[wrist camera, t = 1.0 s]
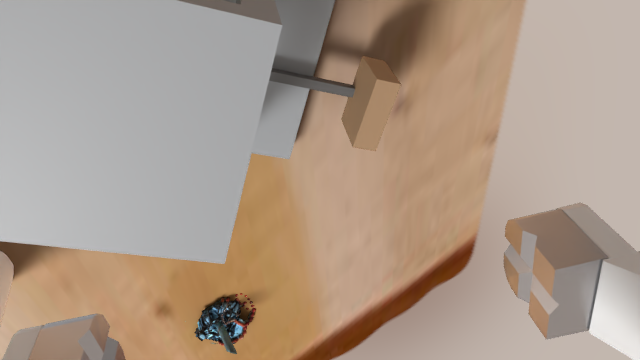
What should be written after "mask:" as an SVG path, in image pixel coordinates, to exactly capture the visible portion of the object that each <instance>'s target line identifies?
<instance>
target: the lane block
mask: <svg viewBox="0 0 640 360" xmlns="http://www.w3.org/2000/svg"><path fill="white" fill-rule="evenodd" d="M269 81H273V82H278V83H283V84H288V85H293V86H298V87H303V88H308V89H313V90H317V91H322V92H327V93H332V94H337V95H342V96H347V97H349V98H348V101H347V104H346V107H345V110H344V113H343V116H342V119H341V120H342V122H343V125H344V127H345V129H346V132H347V134H348V137H349V139H350V142H351V144H352V146H353V147H354V148H360V149H366V150H371V151H376V149H377V146H378V144H379V141H380V138H381V136H382V133H383V131H384V128H385V125H386V123H387V120H388V118H389V115H390V112H391V110H392V107H393V104H394V102H395V99H396V97H397V94H398V91H399V89H400V86H401V83H400V82H399V81H398V79H397V78H396V76H395V75H394V74H393V72H392V71H391V69H390V68H389V67H388V65H387V64H386V62H385V61H383V60H379V59H375V58H370V57H366V56H362V58H361V61H360V64H359V67H358V70H357V73H356V76H355V80H354V83H353V85H350V84H345V83H340V82H336V81H331V80H326V79H321V78H317V77H312V76H307V75H302V74H298V73H293V72H288V71H284V70H279V69H274V68H272V70H271V74H270V78H269Z"/></svg>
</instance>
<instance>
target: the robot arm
mask: <svg viewBox="0 0 640 360" xmlns="http://www.w3.org/2000/svg"><path fill="white" fill-rule="evenodd" d="M505 237H506V238H507V239H508V241H509V242H510V243H511V244H510V246H509V247H508V249H507V250H506V251H505V252H504V268H505V273H506V277H507V280H508V282H509V284H510V286H511V288H512V290H513V291H514V293H515V295H516V296H517V297H518V298H520V299H522V300H524V301H526V302H528V303H529V315H530V317H531V318H532V320H533V321H534V322H535V324H536V325H537V327H538V328H539V330H540V331H541V333H542V334H543V335H544V337H545V338H546V339H551V338H555V337H559V336H564V335H569V334H574V333H578V332H584V331H588V330H589V333H590V334H592V335H594V336H595V337H597V338H599V339H600V340H602V341H604V342H605V343H607V344H609V345H610V346H612V347H613V348H615V349H617V350H618V351H620V352H622V353H623V354H625V355H627V356H628V357H630V358H632V359H633V360H640V251H639V252H637V251H636V250H635V249H634V248H633V247H632V246H631V245H629V244H628V243H627V242H626V241H625V240H624V239H623V238H622V237H621V236H620V235H619V234H618V233H616V232H615V231H614V230H613V229H612V228H611V227H610V226H609V225H608V224H607V223H606V222H605V221H604V220H602V219H601V218H600V217H599V216H598V215H597V214H596V213H595V212H594V211H593V210H591V209H590V208H589V207H588V206H587V205H585V204H582V203H577V204H573V205H569V206H565V207H561V208H557V209H556V210H550V211H546V212H541V213H537V214H533V215H528V216H524V217H520V218H516V219H512V220H508V222H507V224H506V228H505ZM109 328H110V326H109V324H108V322H107V321H106V319H105V318H104V316H103V315H101V314H93V315H88V316H83V317H78V318H73V319H68V320H63V321H58V322H53V323H48V324H46V325H41V326H36V327H31V328H26V329H21V330H19V331H18V332H17V333H15V334H14V335H13V337H12V339H11V341H10V343H9V345H8V348H7V350H6V352H5V354H4V357H3V359H2V360H126V359H125V356H124V353H123V350H122V348H121V346H120V344H119V342H118V341H116V340H114V339H111V338H109V337H108V332H109Z"/></svg>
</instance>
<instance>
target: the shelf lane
mask: <svg viewBox="0 0 640 360" xmlns="http://www.w3.org/2000/svg"><path fill="white" fill-rule="evenodd" d="M334 3H335V0H0V241H4V242H14V243H24V244H34V245H44V246H53V247H63V248H73V249H83V250H93V251H103V252H113V253H123V254H133V255H142V256H152V257H162V258H172V259H182V260H192V261H202V262H212V263H222V264H225V260H226V256H227V252H228V248H229V244H230V240H231V235H232V231H233V227H234V223H235V219H236V215H237V211H238V206H239V202H240V198H241V194H242V190H243V186H244V182H245V177H246V173H247V169H248V165H249V161H250V157H251V153H254V154H260V155H267V156H273V157H279V158H285V159H290V156H291V152H292V149H293V145H294V142H295V138H296V135H297V131H298V128H299V124H300V121H301V117H302V114H303V110H304V107H305V103H306V100H307V96H308V93H309V90H310V89H308V88H303V87H298V86H293V85H288V84H283V83H278V82H273V81H269V78H270V74H271V70H272V68H274V69H279V70H284V71H288V72H293V73H298V74H302V75H307V76H312V77H313V76H314V72H315V69H316V65H317V62H318V58H319V55H320V51H321V48H322V44H323V41H324V37H325V34H326V30H327V27H328V23H329V20H330V16H331V13H332V9H333V6H334Z"/></svg>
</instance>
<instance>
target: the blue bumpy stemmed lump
mask: <svg viewBox="0 0 640 360" xmlns="http://www.w3.org/2000/svg"><path fill="white" fill-rule="evenodd" d="M240 295H243V294H242V293H240ZM235 296H236V297H237V296H238V294H236V295H235ZM245 297H247V295H245ZM247 300H250V299H249V298H248V299H247ZM246 303H247V302H243V303H241V302H240V301H239V299H238V298H236V299H235V300H234V301H230V298H229V297H227V298H224V297H222V299H221V300H219V301H218V302H216V303H215V304H213V305H212V306H209V307H207V308H206V309H205V310H202V313H203V314H202V315H201V319H199V321H198V326H199V327H198V328H197V329H196V332H194V333H196V337H198V338H199V339H200V340H201V341H203V340H204V339H209V340H210V339H212V340H213V341H214V340H215V341H218V342H219V344H221V345H222V346H225V348H226V350H227V352H230V353H234V354H237V352H236V350H235V348H234V346H233V344H235V343H236V342H237V341H238V340H239V339H243V337H244V335H245V334H246V329H247V325H249V322H251V321H252V319H253V318H254V317H253V316H254V312H255V311H256V309H255V308H253V309H252V311H250V312H251V313H250V314H249V316H248V319H247V320H242V319H240V318H239V314H240V313H241V310H240V307H244V306H245V305H246ZM252 303H253V302H252V301H250V304H252ZM242 304H243V306H241V305H242ZM251 307H254V305H251ZM243 309H244V308H243ZM246 309H247V310H248V309H249V308H246ZM212 344H217V343H212Z"/></svg>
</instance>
